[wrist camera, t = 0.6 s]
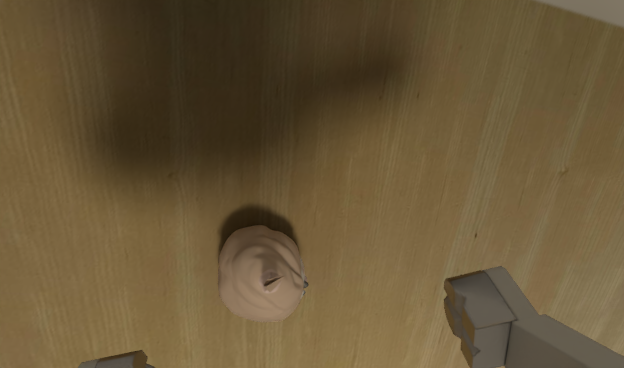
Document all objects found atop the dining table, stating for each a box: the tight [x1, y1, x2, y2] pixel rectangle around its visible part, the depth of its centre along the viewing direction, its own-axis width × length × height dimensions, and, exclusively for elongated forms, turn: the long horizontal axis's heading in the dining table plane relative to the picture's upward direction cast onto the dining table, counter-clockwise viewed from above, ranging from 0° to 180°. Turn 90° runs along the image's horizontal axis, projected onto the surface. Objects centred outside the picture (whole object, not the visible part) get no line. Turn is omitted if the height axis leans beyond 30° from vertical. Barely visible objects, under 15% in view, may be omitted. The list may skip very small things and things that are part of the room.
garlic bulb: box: [218, 225, 308, 322], centre depth 28 cm, size 7×6×8 cm
